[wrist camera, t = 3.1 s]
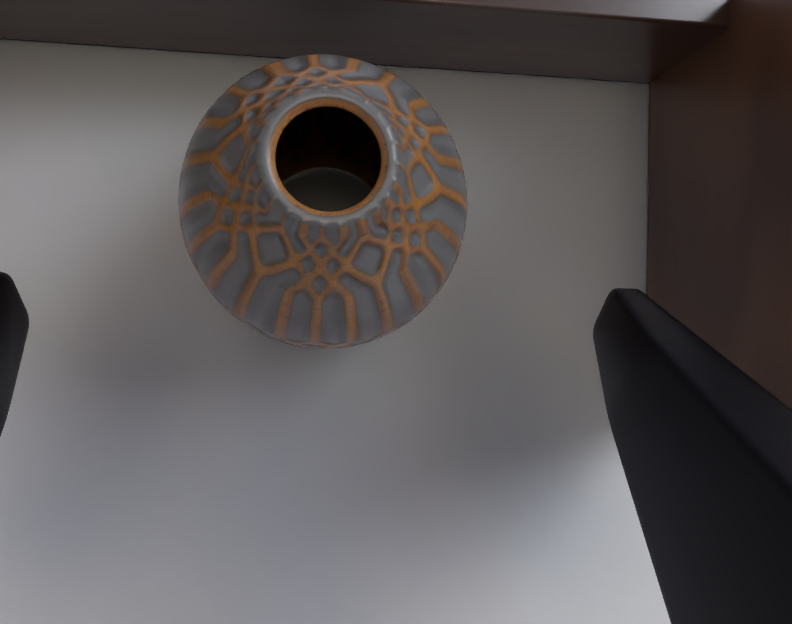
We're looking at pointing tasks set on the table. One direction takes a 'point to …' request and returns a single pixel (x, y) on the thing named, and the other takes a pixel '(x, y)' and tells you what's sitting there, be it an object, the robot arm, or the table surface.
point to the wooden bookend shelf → (580, 58)
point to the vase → (322, 201)
